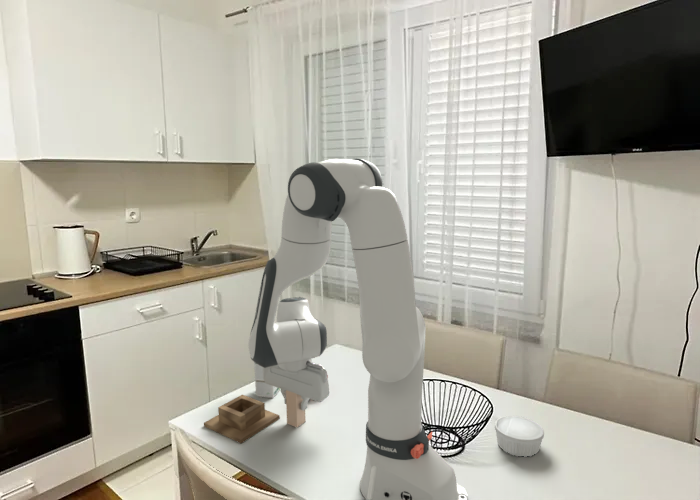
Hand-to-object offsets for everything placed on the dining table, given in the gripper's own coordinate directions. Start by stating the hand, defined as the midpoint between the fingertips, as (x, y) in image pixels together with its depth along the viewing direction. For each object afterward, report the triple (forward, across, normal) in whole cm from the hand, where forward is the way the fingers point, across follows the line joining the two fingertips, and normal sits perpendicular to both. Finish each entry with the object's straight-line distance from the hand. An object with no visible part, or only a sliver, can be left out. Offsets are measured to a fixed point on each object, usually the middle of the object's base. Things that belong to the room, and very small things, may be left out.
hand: (295, 406), depth 125 cm
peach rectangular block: (+5, 0, 0) cm, 5 cm away
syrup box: (+5, +18, -8) cm, 20 cm away
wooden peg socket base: (+5, +12, +8) cm, 15 cm away
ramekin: (+5, -52, -22) cm, 57 cm away
